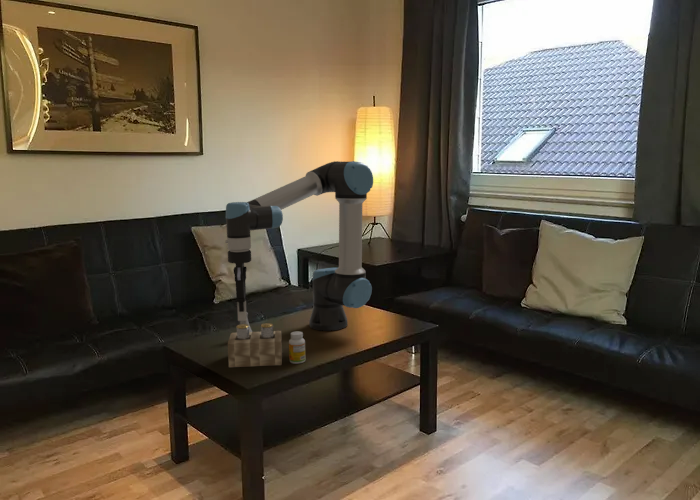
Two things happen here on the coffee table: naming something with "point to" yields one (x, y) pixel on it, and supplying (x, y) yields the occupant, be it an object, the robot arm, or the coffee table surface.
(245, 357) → the birch block
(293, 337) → the supplement bottle
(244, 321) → the flask
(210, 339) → the coffee table surface
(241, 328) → the peg
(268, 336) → the peg
